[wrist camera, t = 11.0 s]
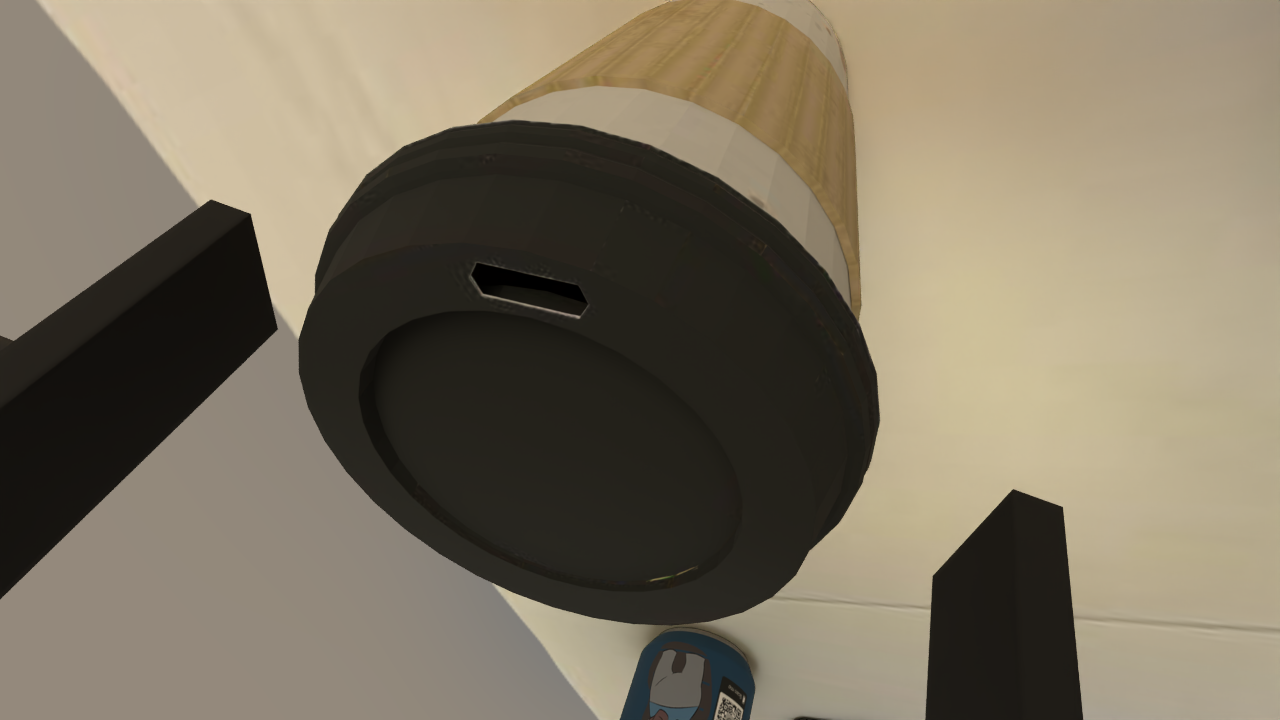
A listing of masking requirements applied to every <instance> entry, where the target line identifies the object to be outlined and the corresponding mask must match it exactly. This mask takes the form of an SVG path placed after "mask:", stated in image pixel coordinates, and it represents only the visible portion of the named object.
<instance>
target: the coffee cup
mask: <svg viewBox="0 0 1280 720" xmlns="http://www.w3.org/2000/svg"><path fill="white" fill-rule="evenodd" d="M860 310H861V284H860V258H859V232H858V206H857V180H856V154H855V136H854V123H853V114H852V111H851V108H850V104H849V101H848V82H847V70H846V62H845V58H844V55H843V52H842V48H841V45H840V42H839V40H838V38H837V36H836V34H835V32H834V31H833V29H832V27H831V25H830V23H829V22H828V21H827V19H826V18H825V17H824V16H823V15H822V13H821V12H820V11H819V10H818V9H817V8H816V6H815V5H814V4H812V3H811V2H810V1H808V0H672V1H670V2H668V3H666V4H663V5H661V6H658V7H656V8H654V9H651V10H649V11H647V12H644V13H642V14H640V15H639V16H637V17H636V18H634V19H633V20H631V21H630V22H628V23H626V24H625V25H623V26H622V27H620V28H619V29H617V30H616V31H614V32H612V33H611V34H609V35H608V36H606V37H605V38H603V39H602V40H600V41H598V42H597V43H595V44H594V45H592V46H591V47H589V48H588V49H586V50H584V51H583V52H581V53H580V54H578V55H577V56H575V57H574V58H572V59H570V60H569V61H567V62H566V63H564V64H563V65H561V66H560V67H558V68H556V69H555V70H553V71H552V72H550V73H549V74H547V75H546V76H544V77H542V78H541V79H539V80H538V81H536V82H535V83H533V84H531V85H530V86H528V87H527V88H525V89H524V90H522V91H521V92H519V93H517V94H516V95H514V96H513V97H511V98H510V99H508V100H507V101H506V102H504V103H503V104H502V105H500V106H499V107H497V108H496V109H495V110H493V111H492V112H491V113H489V114H488V115H486V116H485V117H484V118H482V119H481V120H480V121H479V122H478V123H477V124H473V125H465V126H458V127H452V128H449V129H447V130H444V131H442V132H439V133H437V134H434V135H431V136H429V137H426V138H424V139H421V140H419V141H416V142H414V143H411V144H408V145H406V146H403V147H402V148H401V149H400V150H398V151H397V152H396V153H394V154H393V155H392V156H390V157H389V158H388V159H386V160H385V161H384V162H383V163H381V164H380V165H379V166H377V167H376V168H375V169H373V170H372V171H371V172H370V173H368V174H367V175H366V176H365V178H364V179H363V181H362V182H361V183H360V185H359V186H358V188H357V189H356V191H355V192H354V193H353V195H352V196H351V198H350V199H349V201H348V202H347V203H346V205H345V206H344V208H343V209H342V211H341V212H340V213H339V215H338V218H337V219H336V221H335V222H334V224H333V225H332V226H331V228H330V229H329V232H328V235H327V238H326V241H325V245H324V248H323V251H322V254H321V258H320V261H319V264H318V267H317V271H316V274H315V296H314V298H313V300H312V302H311V304H310V306H309V308H308V311H307V315H306V318H305V321H304V324H303V327H302V331H301V334H300V337H299V375H300V379H301V382H302V386H303V390H304V394H305V397H306V401H307V405H308V408H309V410H310V412H311V414H312V416H313V418H314V420H315V422H316V424H317V426H318V428H319V430H320V432H321V434H322V436H323V438H324V440H325V442H326V443H327V445H328V446H329V448H330V449H331V450H332V452H333V453H334V455H335V456H336V458H337V459H338V460H339V462H340V463H341V465H342V466H343V467H344V469H345V470H346V472H347V473H348V474H349V475H350V476H351V477H352V478H353V479H354V481H355V482H356V483H357V484H358V485H359V486H360V487H361V488H362V489H363V490H364V492H365V493H366V494H367V495H368V496H369V497H370V498H371V499H372V500H373V501H374V502H375V503H376V504H377V505H378V506H380V508H382V509H383V510H384V511H385V512H386V513H387V514H388V515H390V516H391V517H392V518H393V519H394V520H395V521H396V522H398V523H399V524H400V525H401V526H402V527H403V528H404V529H406V530H407V531H408V532H410V533H411V534H413V535H414V536H415V537H417V538H418V539H420V540H421V541H422V542H424V543H425V544H427V545H428V546H429V547H431V548H432V549H434V550H435V551H436V552H438V553H439V554H441V555H443V556H444V557H446V558H448V559H449V560H451V561H453V562H455V563H457V564H458V565H460V566H461V567H463V568H465V569H467V570H468V571H470V572H472V573H473V574H475V575H477V576H479V577H481V578H483V579H485V580H488V581H490V582H492V583H494V584H496V585H498V586H500V587H502V588H505V589H507V590H509V591H511V592H513V593H516V594H518V595H521V596H524V597H527V598H529V599H532V600H535V601H537V602H540V603H543V604H546V605H548V606H551V607H554V608H558V609H562V610H566V611H569V612H573V613H577V614H581V615H585V616H588V617H592V618H598V619H604V620H611V621H617V622H624V623H630V624H648V625H681V624H691V623H701V622H709V621H713V620H717V619H720V618H724V617H728V616H731V615H735V614H739V613H742V612H744V611H746V610H748V609H750V608H752V607H754V606H756V605H758V604H760V603H762V602H764V601H766V600H767V599H769V598H771V597H773V596H774V595H775V594H776V593H777V592H778V591H779V590H780V589H781V588H783V587H784V586H785V585H786V584H787V583H788V582H789V581H790V580H791V579H792V578H793V577H794V576H795V575H796V574H797V572H798V570H799V568H800V567H801V565H802V563H803V561H804V559H805V557H806V556H807V554H808V552H809V550H811V549H812V548H813V547H814V546H815V545H816V544H817V543H818V542H820V541H821V540H822V539H823V538H824V537H825V536H826V535H827V534H828V533H829V532H830V531H831V530H832V529H833V528H834V527H835V526H836V525H837V524H838V523H839V522H840V521H841V519H842V518H843V516H844V514H845V513H846V511H847V509H848V507H849V506H850V504H851V502H852V500H853V499H854V497H855V495H856V493H857V492H858V490H859V488H860V486H861V485H862V483H863V478H864V475H865V473H866V471H867V470H868V468H869V465H870V462H871V459H872V454H873V450H874V445H875V441H876V436H877V432H878V427H879V423H880V413H879V399H878V385H877V373H876V370H875V367H874V364H873V362H872V359H871V356H870V353H869V350H868V347H867V344H866V341H865V339H864V336H863V333H862V330H861V327H860V324H859V322H858V321H859V315H860Z"/></svg>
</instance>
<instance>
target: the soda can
mask: <svg viewBox="0 0 1280 720" xmlns="http://www.w3.org/2000/svg"><path fill="white" fill-rule="evenodd" d="M754 694H755V684H754V680H753V676H752V673H751V670H750V668H749V665H748V662H747V659H746V657H745V656H744V654H743V653H742V652H741V651H740V650H739V649H738V648H737V647H736V646H735V645H733V644H732V643H730V642H729V641H727V640H725V639H723V638H722V637H719V636H717V635H715V634H712V633H709V632H706V631H703V630H699V629H693V628H672V629H668V630H666V631H664V632H663V633H661V634H660V635H659V636H658V637H656V638H655V639H654V640H653V641H652V642H650V643H649V644H648V645H647V646H646V647H645V648H644V650H643V651H642V653H641V656H640V659H639V662H638V665H637V668H636V671H635V674H634V677H633V680H632V683H631V687H630V690H629V693H628V696H627V699H626V702H625V705H624V708H623V711H622V715H621V718H620V720H749V719H750V714H751V709H752V704H753V699H754Z"/></svg>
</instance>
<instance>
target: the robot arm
mask: <svg viewBox="0 0 1280 720" xmlns="http://www.w3.org/2000/svg"><path fill="white" fill-rule="evenodd" d="M277 329H278V328H277V324H276V319H275V315H274V311H273V307H272V303H271V298H270V294H269V290H268V286H267V281H266V277H265V273H264V269H263V264H262V260H261V256H260V252H259V247H258V243H257V239H256V235H255V231H254V226H253V222H252V218H251V214H250V213H247V212H244V211H241V210H238V209H236V208H233V207H230V206H227V205H225V204H222V203H219V202H216V201H214V200H210V201H208V202H207V203H205V204H204V205H203V206H201V207H200V208H198V209H197V210H196V211H194V212H193V213H191V214H190V215H189V216H187V217H186V218H184V219H183V220H182V221H180V222H179V223H178V224H176V225H175V226H173V227H172V228H171V229H169V230H168V231H167V232H165V233H164V234H162V235H161V236H159V237H158V238H157V239H155V240H154V241H152V242H151V243H150V244H148V245H147V246H146V247H144V248H143V249H141V250H140V251H139V252H137V253H136V254H134V255H133V256H132V257H130V258H129V259H127V260H126V261H125V262H123V263H122V264H121V265H119V266H118V267H116V268H115V269H114V270H112V271H111V272H109V273H108V274H107V275H105V276H104V277H102V278H101V279H100V280H98V281H97V282H96V283H94V284H93V285H91V286H90V287H89V288H87V289H86V290H85V291H83V292H82V293H80V294H79V295H78V296H76V297H75V298H73V299H72V300H70V301H69V302H68V303H66V304H65V305H64V306H62V307H61V308H59V309H58V310H57V311H55V312H54V313H52V314H51V315H50V316H48V317H47V318H46V319H44V320H43V321H41V322H40V323H38V324H37V325H36V326H34V327H33V328H32V329H30V330H29V331H28V332H26V333H25V334H23V335H22V336H20V337H19V338H18V339H17V340H15V341H12V340H10V339H7V338H5V337H2V336H0V599H1V598H2V597H3V596H4V595H5V594H6V593H7V592H8V591H9V590H10V589H11V588H12V587H13V586H14V585H15V584H16V583H17V582H18V581H19V580H21V579H22V578H23V577H24V576H25V575H26V574H27V573H28V572H29V571H30V570H31V569H32V568H33V567H34V566H35V565H36V564H37V563H38V562H39V561H40V560H41V559H42V558H43V557H44V556H45V555H46V554H47V553H48V552H49V551H50V550H51V549H52V548H53V547H54V546H55V545H57V543H59V541H61V540H62V539H63V538H64V537H65V536H66V535H67V534H68V533H69V532H70V531H71V530H72V529H73V528H74V527H75V526H76V525H77V524H78V523H79V522H80V521H81V520H82V519H83V518H84V517H85V516H86V515H87V514H88V513H89V512H90V511H91V510H92V509H93V508H95V506H97V505H98V504H99V503H100V502H101V501H102V500H103V499H104V498H105V497H106V496H107V495H108V494H109V493H110V492H111V491H112V490H113V489H114V488H115V487H116V486H117V485H118V484H119V483H120V482H121V481H122V480H123V479H124V478H125V477H126V476H127V475H128V474H130V473H131V472H132V471H133V470H134V469H135V468H136V467H137V466H138V465H139V464H140V463H141V462H142V461H143V460H144V459H145V458H146V457H147V456H148V455H149V454H150V453H151V452H152V451H153V450H154V449H155V448H156V447H157V446H158V445H159V444H160V443H161V442H162V441H163V440H164V439H165V438H166V437H167V436H168V435H170V434H171V433H172V432H173V431H174V430H175V429H176V428H177V427H178V426H179V425H180V424H181V423H182V422H183V421H184V420H185V419H186V418H187V417H188V416H189V415H190V414H191V413H192V412H193V411H194V410H195V409H196V408H197V407H198V406H199V405H201V404H202V402H204V401H205V399H207V398H208V397H209V396H210V395H211V394H212V393H213V392H214V391H215V390H216V389H217V388H218V387H219V386H220V385H221V384H222V383H223V382H224V381H225V380H226V379H227V378H228V377H229V376H230V375H231V374H232V373H233V372H234V371H235V370H237V368H239V367H240V366H241V365H242V364H243V363H244V362H245V361H246V360H247V358H249V357H250V356H251V355H252V354H253V353H254V352H255V351H256V350H257V349H258V348H259V347H260V346H261V345H262V344H263V343H264V342H265V341H266V340H267V339H268V338H269V337H270V336H271V335H273V333H275V331H276V330H277ZM925 720H1083V713H1082V702H1081V692H1080V681H1079V671H1078V660H1077V650H1076V639H1075V629H1074V618H1073V608H1072V597H1071V587H1070V576H1069V566H1068V555H1067V545H1066V535H1065V524H1064V514H1063V507H1061V506H1058V505H1055V504H1053V503H1050V502H1047V501H1044V500H1042V499H1039V498H1036V497H1033V496H1030V495H1028V494H1025V493H1022V492H1019V491H1017V490H1014V489H1013V490H1012V491H1011V492H1010V493H1009V494H1008V495H1007V496H1006V497H1005V498H1004V500H1003V501H1002V502H1001V503H1000V504H999V505H998V506H997V507H996V508H995V509H994V510H993V511H992V513H991V514H990V515H989V516H988V517H987V518H986V519H985V520H984V521H983V522H982V523H981V524H980V526H979V527H978V528H977V529H976V530H975V531H974V532H973V533H972V534H971V535H970V536H969V537H968V539H967V540H966V541H965V542H964V543H963V544H962V545H961V546H960V547H959V548H958V549H957V550H956V552H955V553H954V554H953V555H952V556H951V557H950V558H949V559H948V560H947V561H946V562H945V563H944V565H943V566H942V567H941V568H940V569H939V570H938V571H937V572H936V573H935V574H934V575H933V582H932V602H931V621H930V641H929V660H928V680H927V699H926V719H925Z"/></svg>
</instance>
